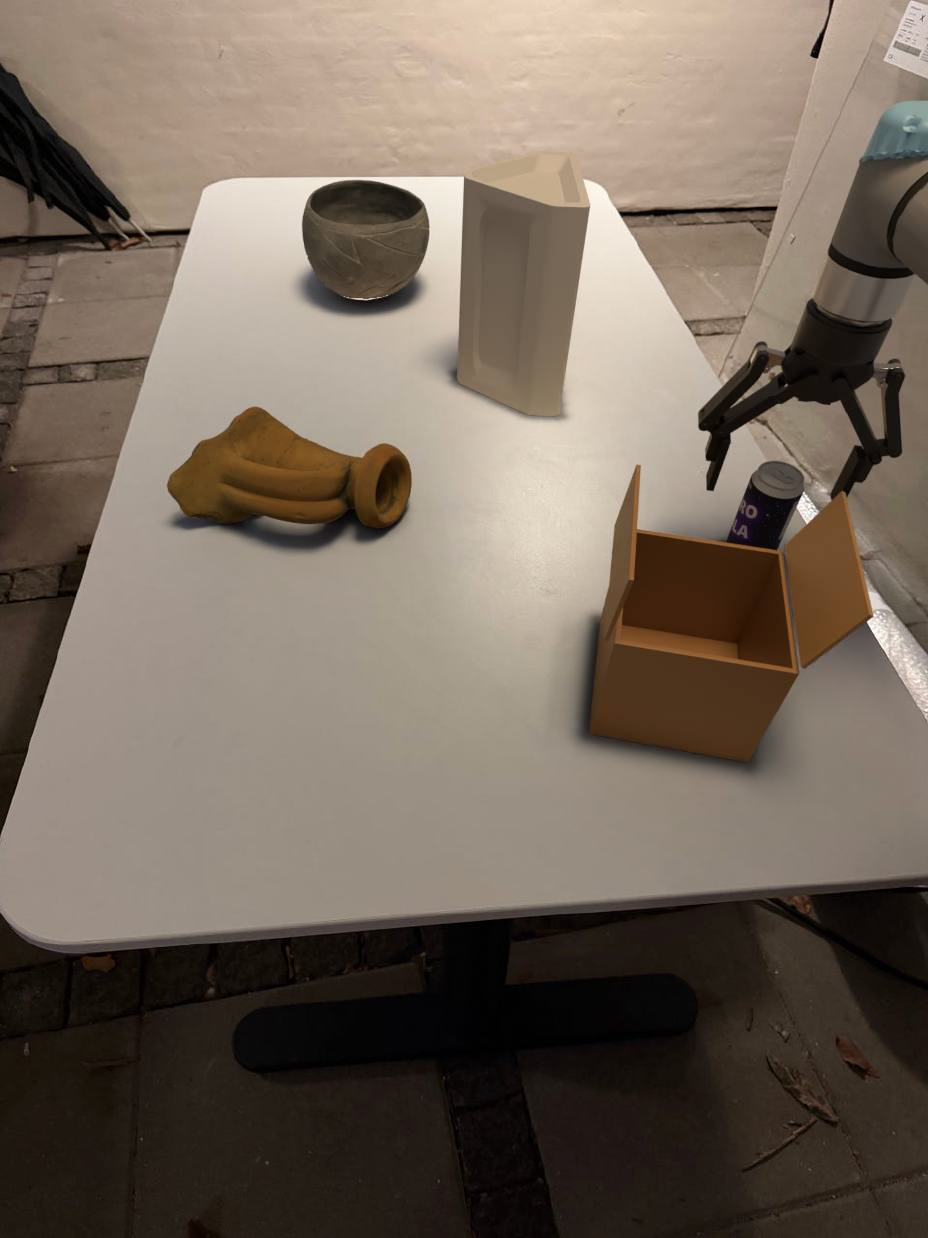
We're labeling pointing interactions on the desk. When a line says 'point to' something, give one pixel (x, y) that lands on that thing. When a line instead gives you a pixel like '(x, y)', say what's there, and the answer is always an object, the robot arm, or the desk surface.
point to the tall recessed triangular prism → (520, 277)
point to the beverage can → (767, 505)
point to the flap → (826, 581)
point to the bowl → (365, 237)
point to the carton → (691, 641)
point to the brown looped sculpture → (288, 477)
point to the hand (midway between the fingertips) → (771, 492)
